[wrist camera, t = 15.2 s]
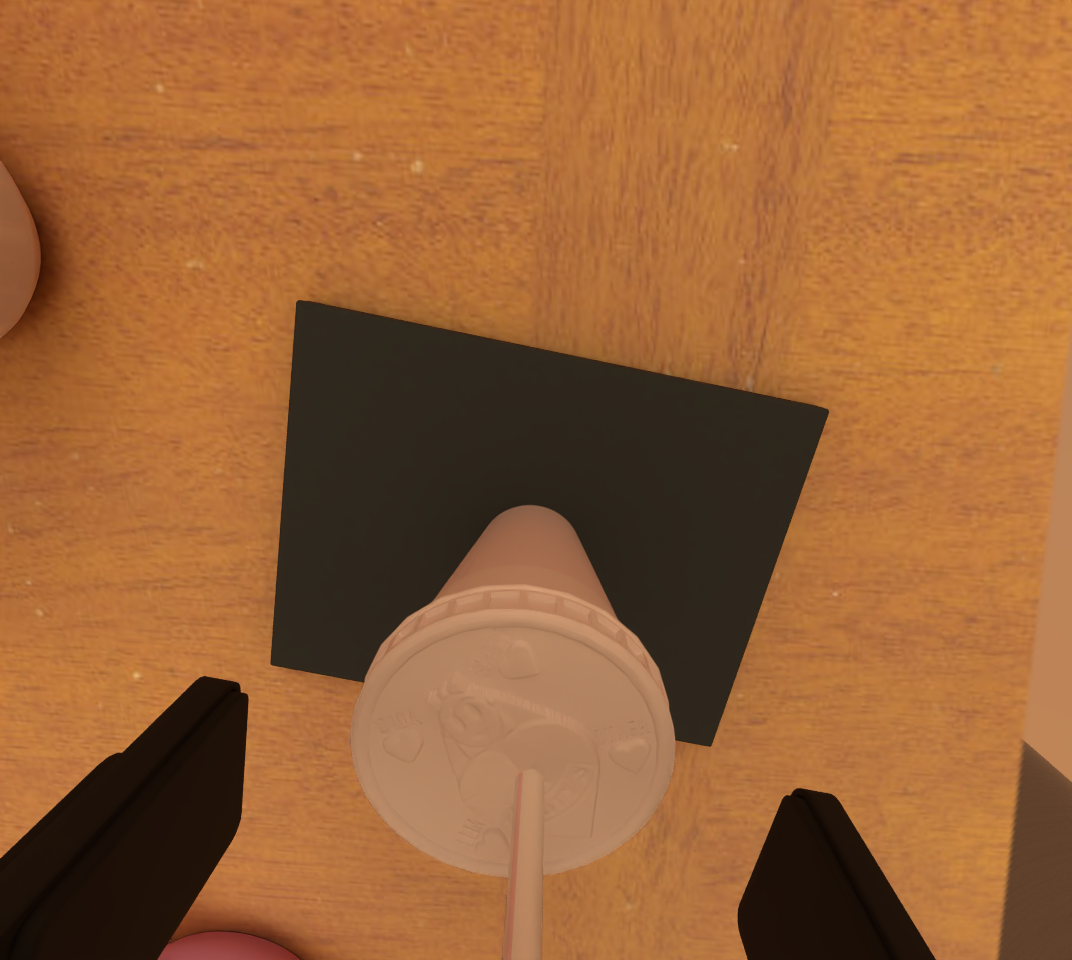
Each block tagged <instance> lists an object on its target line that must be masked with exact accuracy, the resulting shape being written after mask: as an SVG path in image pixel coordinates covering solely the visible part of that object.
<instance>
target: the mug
mask: <svg viewBox="0 0 1072 960" xmlns="http://www.w3.org/2000/svg"><path fill="white" fill-rule="evenodd" d="M40 266H41V248H40V242H39V237H38V232H37V229H36V226H35V223H34V220H33V217H32V215H31V212H30V210H29V208H28V207H27V205H26V203H25V201H24V199H23V197H22V195H21V193H20V191H19V189H18V188H17V186H16V184H15V182H14V180H13V179H12V177H11V175H10V174H9V172H8V170H7V169H6V167H5V166H4V164H3V163H2V161H1V160H0V338H1V337H3V336H4V335H5V334H6V333H7V332H8V331H9V330H10V329H12V328H13V327H14V325H15V324H16V323H17V322H18V321H19V319H20V318H21V316H22V315H23V313H24V312H25V310H26V308H27V306H28V304H29V302H30V300H31V297H32V295H33V293H34V290H35V287H36V284H37V281H38V278H39V273H40Z"/></svg>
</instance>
